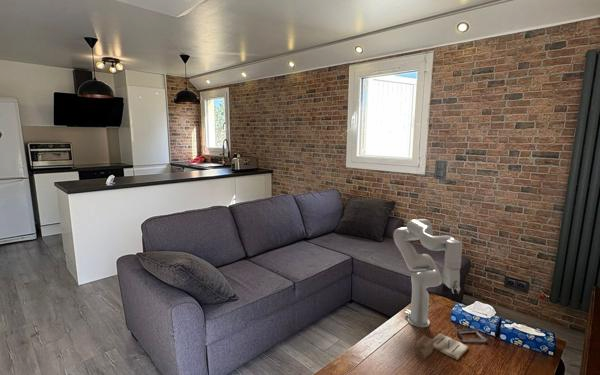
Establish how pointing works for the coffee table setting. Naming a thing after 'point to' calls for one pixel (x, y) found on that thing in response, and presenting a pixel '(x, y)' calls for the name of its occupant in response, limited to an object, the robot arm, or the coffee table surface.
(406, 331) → the coffee table surface
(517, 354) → the coffee table surface
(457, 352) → the pine board
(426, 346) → the walnut sanding block
